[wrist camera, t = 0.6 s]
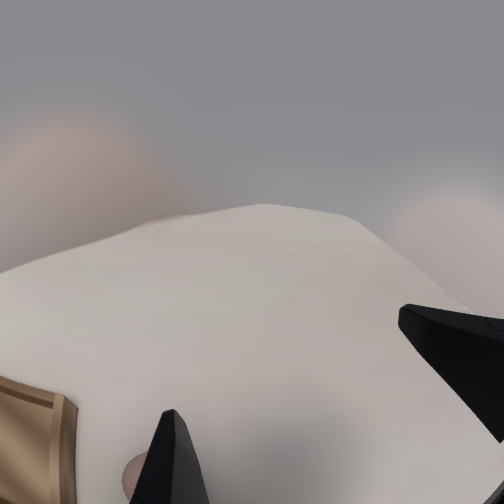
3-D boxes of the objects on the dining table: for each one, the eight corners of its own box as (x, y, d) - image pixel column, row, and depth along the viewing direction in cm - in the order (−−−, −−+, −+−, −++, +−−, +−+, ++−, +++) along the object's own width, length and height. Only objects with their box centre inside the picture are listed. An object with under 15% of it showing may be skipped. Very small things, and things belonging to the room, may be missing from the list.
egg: (125, 457, 15) (102, 446, 10) (189, 452, 17) (193, 440, 12) (140, 515, 11) (122, 528, 7) (207, 509, 13) (219, 521, 9)
